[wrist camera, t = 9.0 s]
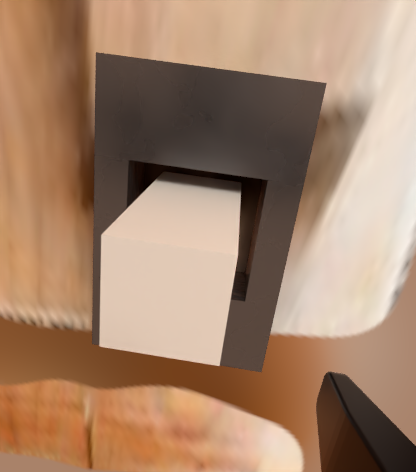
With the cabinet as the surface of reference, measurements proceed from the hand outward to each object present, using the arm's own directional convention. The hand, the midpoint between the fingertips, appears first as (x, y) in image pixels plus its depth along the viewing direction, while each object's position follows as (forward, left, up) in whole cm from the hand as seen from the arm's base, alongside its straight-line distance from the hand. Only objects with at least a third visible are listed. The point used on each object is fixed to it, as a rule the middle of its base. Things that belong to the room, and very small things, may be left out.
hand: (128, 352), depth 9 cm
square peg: (0, -1, -12) cm, 12 cm away
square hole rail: (0, -1, -12) cm, 12 cm away
